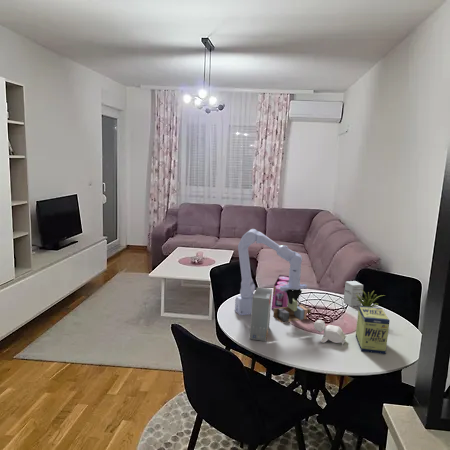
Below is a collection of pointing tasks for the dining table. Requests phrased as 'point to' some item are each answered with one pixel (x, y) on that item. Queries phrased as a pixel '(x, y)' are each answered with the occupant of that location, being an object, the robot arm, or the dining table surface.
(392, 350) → the dining table surface
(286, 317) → the bookend
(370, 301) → the house plant
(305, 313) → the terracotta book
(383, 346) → the protein box
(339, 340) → the white animal figurine
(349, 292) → the supplement box
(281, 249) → the robot arm
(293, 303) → the olive book
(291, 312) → the shelf
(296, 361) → the dining table surface
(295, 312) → the blue book
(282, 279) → the gum box
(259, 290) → the hard drive box
